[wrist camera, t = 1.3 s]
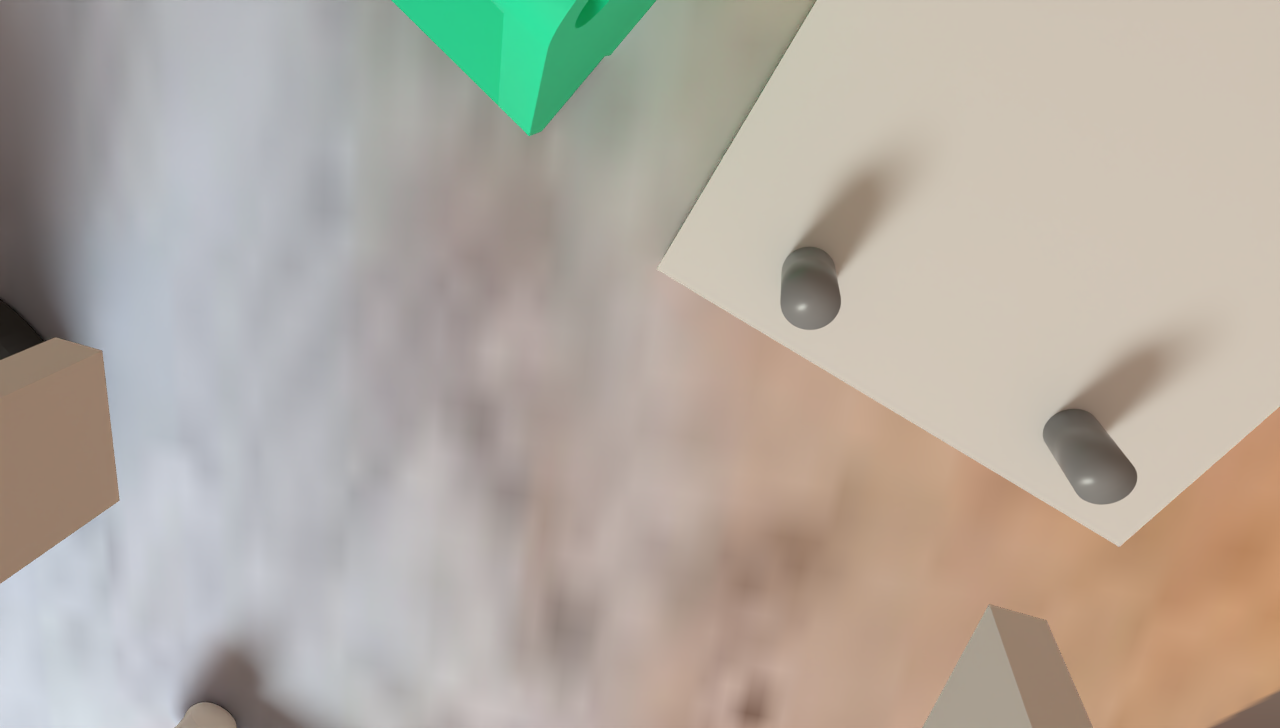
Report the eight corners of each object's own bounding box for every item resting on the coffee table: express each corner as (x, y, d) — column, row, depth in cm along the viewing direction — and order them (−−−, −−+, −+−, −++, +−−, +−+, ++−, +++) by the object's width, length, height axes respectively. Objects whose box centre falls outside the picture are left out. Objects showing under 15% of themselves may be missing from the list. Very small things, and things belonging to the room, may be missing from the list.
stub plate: (662, 258, 31) (640, 297, 26) (1042, -379, 21) (1108, -488, 17) (1105, 525, 32) (1156, 605, 28) (1652, 32, 23) (1867, 32, 18)
